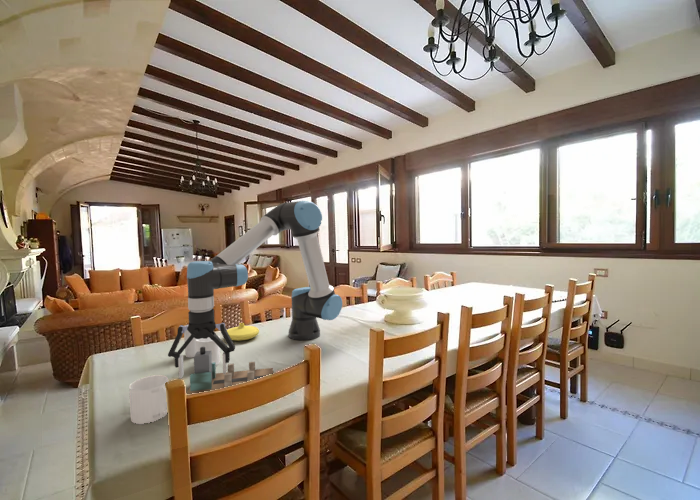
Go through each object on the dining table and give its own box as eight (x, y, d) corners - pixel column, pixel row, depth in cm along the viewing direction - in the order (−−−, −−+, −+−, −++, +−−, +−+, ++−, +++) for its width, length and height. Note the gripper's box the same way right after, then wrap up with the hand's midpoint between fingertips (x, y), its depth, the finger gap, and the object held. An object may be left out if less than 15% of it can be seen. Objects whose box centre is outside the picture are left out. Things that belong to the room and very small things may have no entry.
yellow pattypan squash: (257, 331, 164) (257, 317, 163) (261, 341, 149) (260, 326, 149) (224, 335, 158) (223, 320, 158) (224, 345, 144) (223, 330, 143)
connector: (212, 379, 109) (211, 344, 108) (209, 385, 105) (208, 349, 104) (197, 381, 108) (196, 345, 107) (194, 387, 103) (193, 350, 103)
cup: (204, 370, 118) (203, 343, 117) (187, 362, 125) (186, 336, 125) (224, 363, 125) (223, 337, 124) (207, 356, 132) (206, 331, 131)
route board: (273, 370, 118) (272, 354, 118) (273, 388, 105) (272, 370, 104) (195, 378, 112) (194, 361, 112) (184, 398, 99) (184, 379, 98)
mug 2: (189, 359, 128) (187, 329, 128) (181, 355, 133) (180, 326, 132) (213, 352, 136) (212, 323, 135) (206, 348, 140) (205, 320, 140)
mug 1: (123, 418, 88) (122, 385, 88) (157, 403, 96) (156, 372, 96) (149, 432, 82) (147, 396, 82) (182, 414, 90) (181, 381, 90)
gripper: (242, 304, 111) (244, 365, 112) (162, 308, 105) (165, 373, 107) (240, 310, 104) (242, 375, 105) (154, 314, 98) (157, 384, 99)
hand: (203, 374), depth 106 cm, fingers open, 12 cm apart
